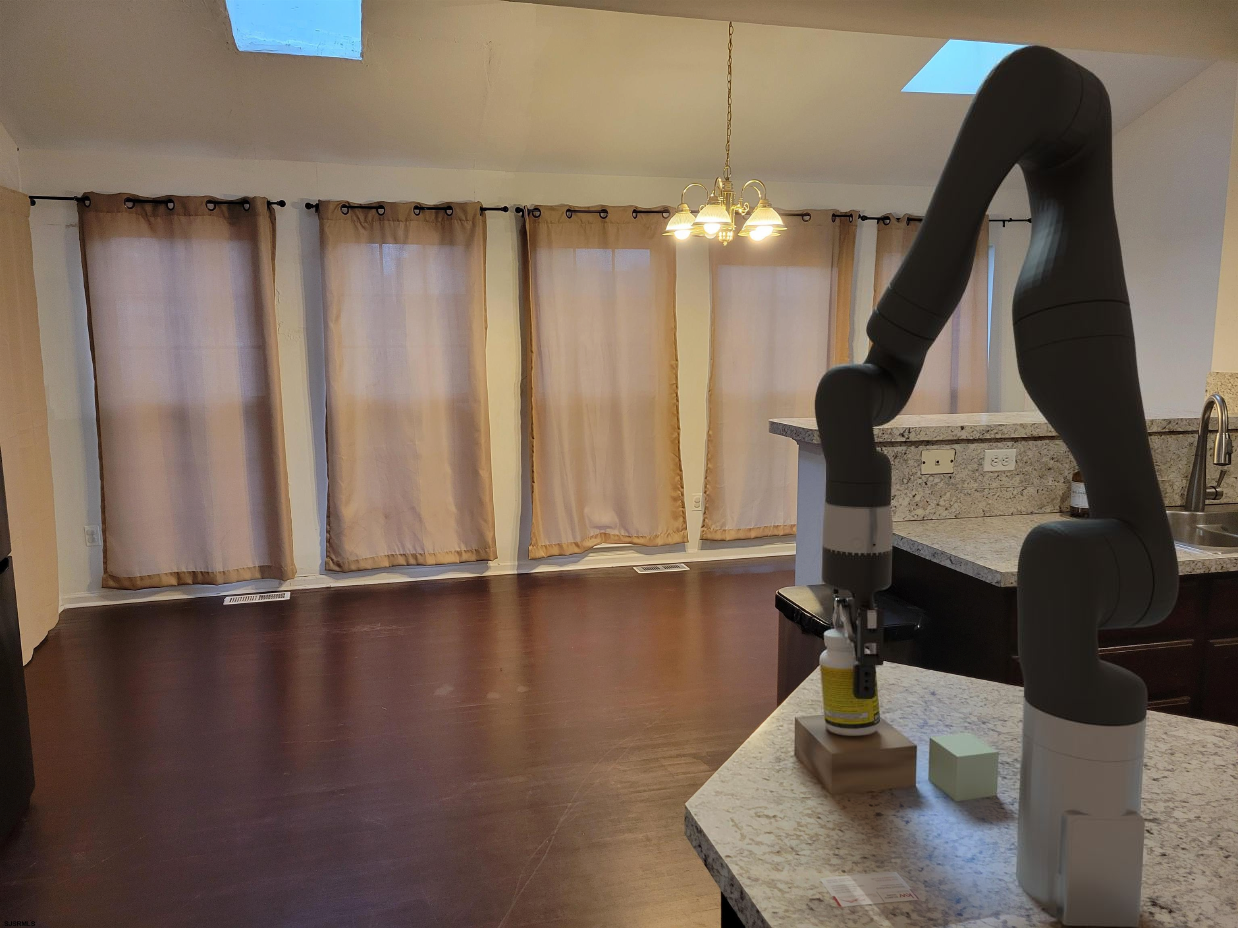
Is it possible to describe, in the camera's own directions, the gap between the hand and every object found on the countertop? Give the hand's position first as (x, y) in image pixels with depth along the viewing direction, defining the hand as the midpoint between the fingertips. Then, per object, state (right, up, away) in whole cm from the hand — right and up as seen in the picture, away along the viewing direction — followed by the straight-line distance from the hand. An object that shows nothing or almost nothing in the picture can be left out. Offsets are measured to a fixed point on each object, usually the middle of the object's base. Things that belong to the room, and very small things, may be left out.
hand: (853, 683), depth 94 cm
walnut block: (0, -11, +1) cm, 11 cm away
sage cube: (+11, -11, -3) cm, 16 cm away
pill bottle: (0, -5, 0) cm, 5 cm away
